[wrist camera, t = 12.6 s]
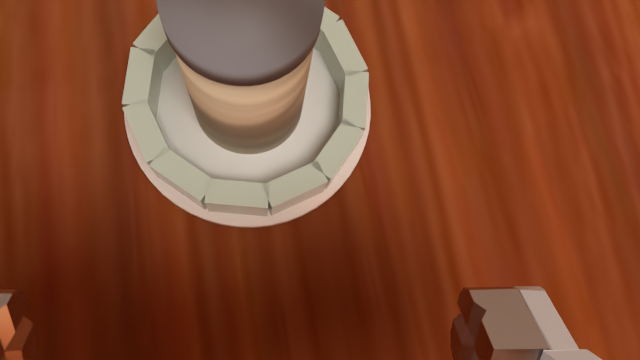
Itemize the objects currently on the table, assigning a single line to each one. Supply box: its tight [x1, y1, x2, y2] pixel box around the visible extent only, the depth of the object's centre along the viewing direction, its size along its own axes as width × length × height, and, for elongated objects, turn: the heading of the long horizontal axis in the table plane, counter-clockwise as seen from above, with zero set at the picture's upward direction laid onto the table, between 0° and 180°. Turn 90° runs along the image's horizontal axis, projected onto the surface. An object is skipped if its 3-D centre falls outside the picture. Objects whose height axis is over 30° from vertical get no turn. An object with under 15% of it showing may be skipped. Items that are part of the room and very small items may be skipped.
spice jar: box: [156, 0, 325, 154], centre depth 22 cm, size 5×5×9 cm
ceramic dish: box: [122, 7, 371, 228], centre depth 25 cm, size 11×11×3 cm
